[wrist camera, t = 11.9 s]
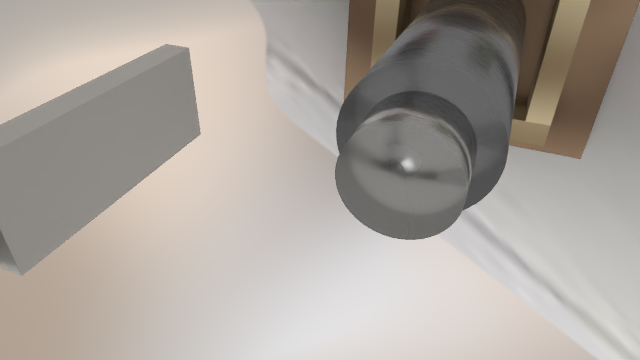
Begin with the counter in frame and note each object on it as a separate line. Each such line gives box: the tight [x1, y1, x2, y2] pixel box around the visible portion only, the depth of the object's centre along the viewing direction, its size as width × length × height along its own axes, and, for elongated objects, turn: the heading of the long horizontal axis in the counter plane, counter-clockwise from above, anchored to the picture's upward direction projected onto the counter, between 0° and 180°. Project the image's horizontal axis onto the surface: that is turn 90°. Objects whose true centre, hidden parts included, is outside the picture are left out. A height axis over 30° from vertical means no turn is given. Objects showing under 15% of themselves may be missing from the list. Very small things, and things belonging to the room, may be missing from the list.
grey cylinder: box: [335, 0, 526, 240], centre depth 16 cm, size 4×4×14 cm
